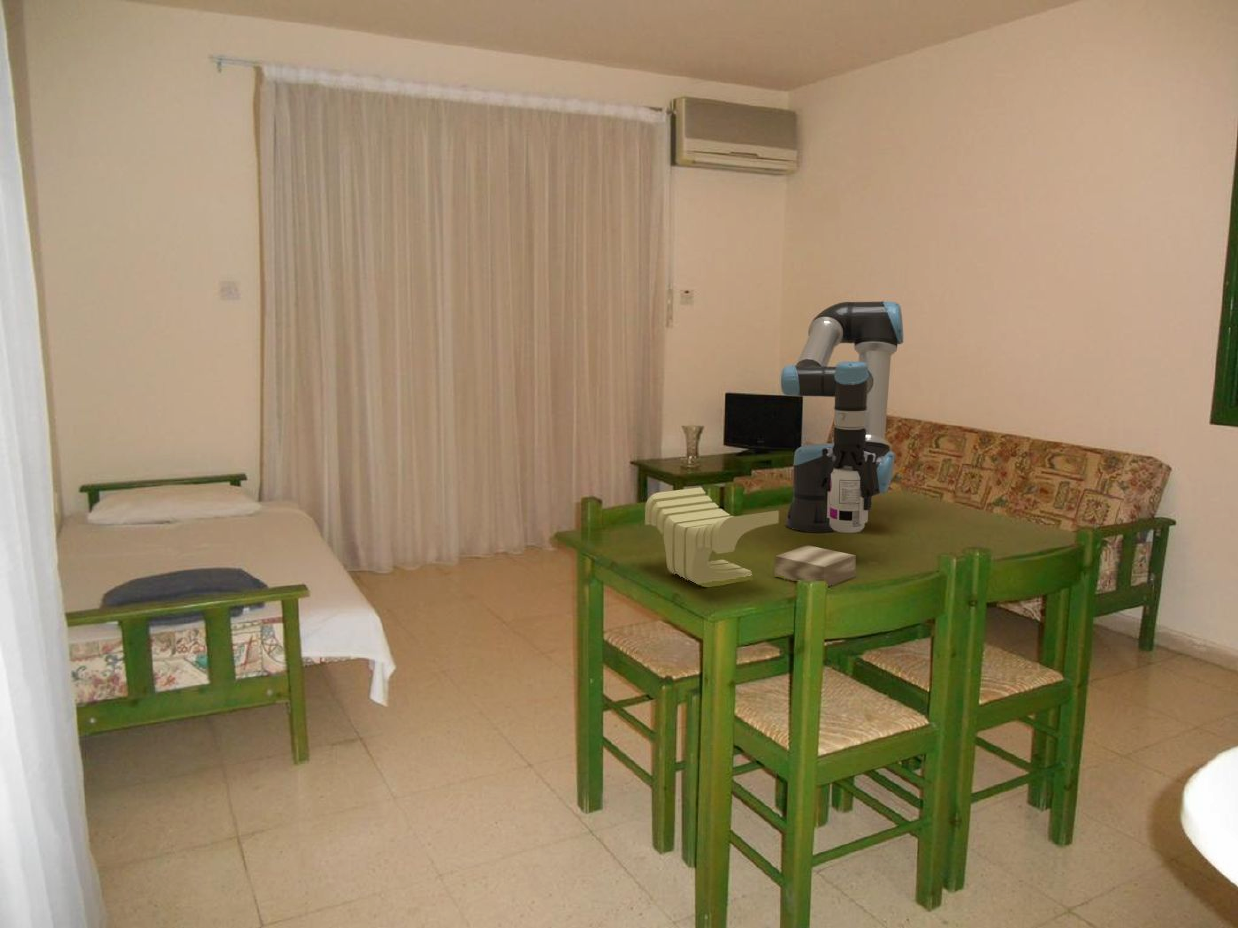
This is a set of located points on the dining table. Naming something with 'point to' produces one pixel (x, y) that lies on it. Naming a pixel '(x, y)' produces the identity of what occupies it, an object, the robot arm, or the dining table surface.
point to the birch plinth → (816, 565)
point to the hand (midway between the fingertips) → (847, 519)
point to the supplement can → (845, 500)
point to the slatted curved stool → (700, 533)
